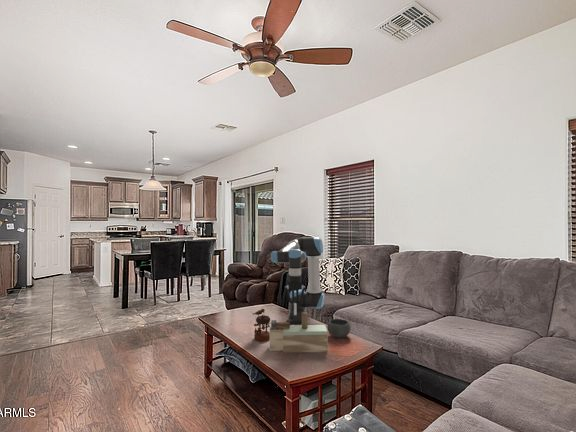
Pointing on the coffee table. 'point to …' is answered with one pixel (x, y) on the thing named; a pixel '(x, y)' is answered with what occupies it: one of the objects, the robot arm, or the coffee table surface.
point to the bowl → (338, 328)
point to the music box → (259, 334)
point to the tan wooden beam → (282, 325)
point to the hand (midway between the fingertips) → (295, 314)
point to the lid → (305, 328)
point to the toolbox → (296, 341)
